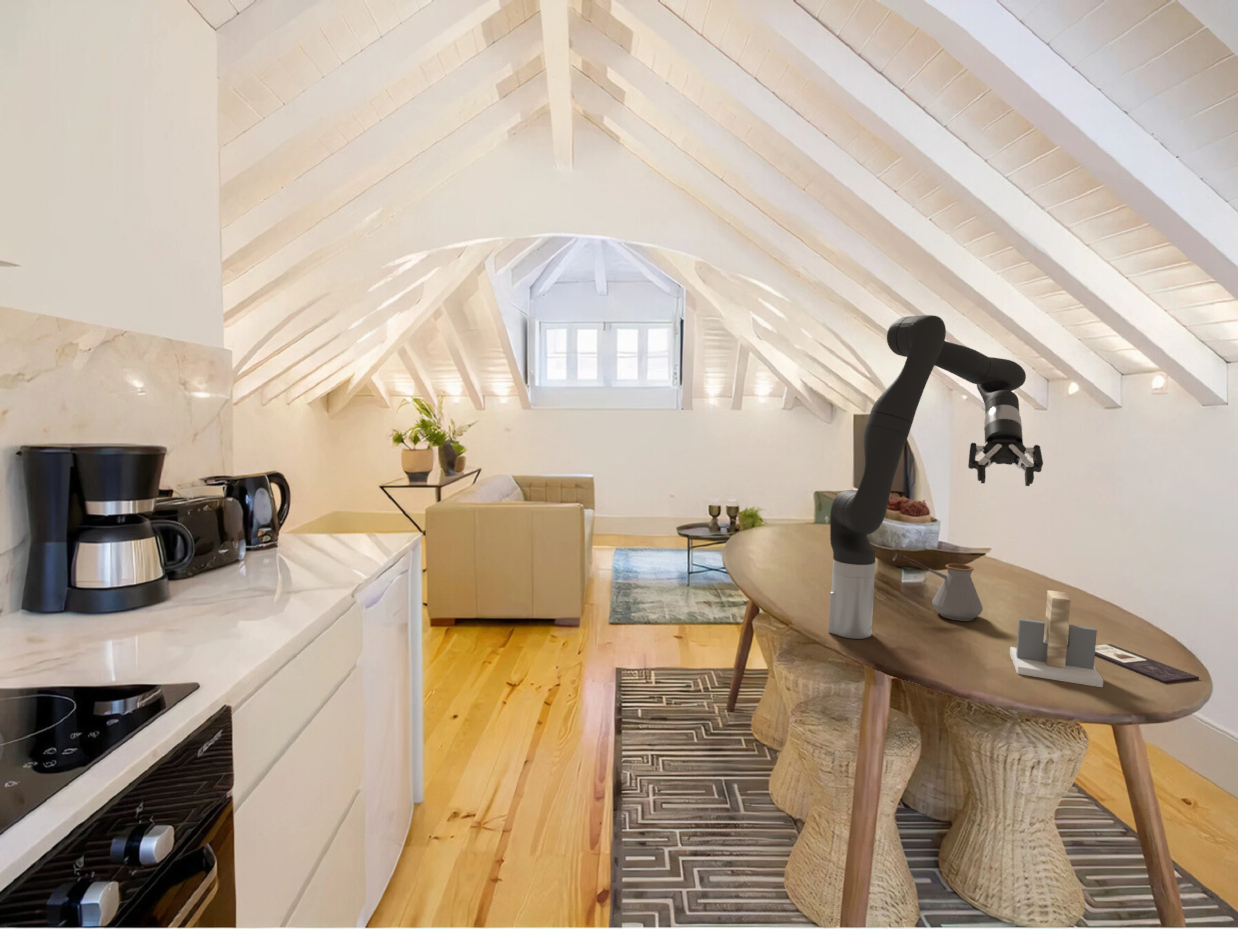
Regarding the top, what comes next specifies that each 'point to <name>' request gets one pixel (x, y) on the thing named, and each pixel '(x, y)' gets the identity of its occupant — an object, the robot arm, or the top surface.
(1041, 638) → the grey notched stand
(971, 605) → the coffee pot
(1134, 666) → the chocolate bar
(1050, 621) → the birch slotted plate
